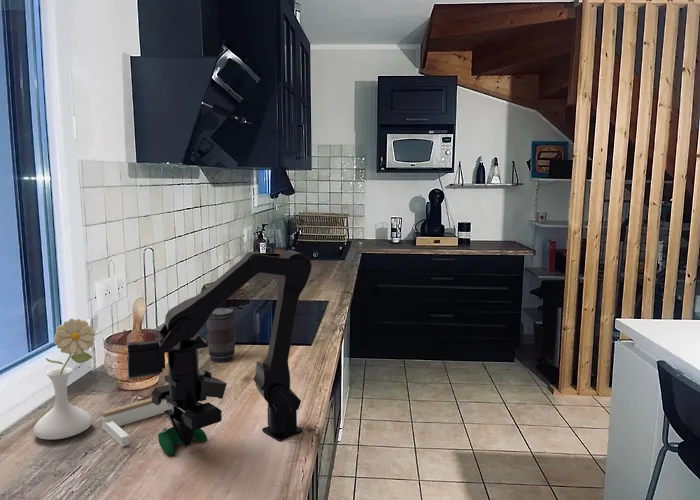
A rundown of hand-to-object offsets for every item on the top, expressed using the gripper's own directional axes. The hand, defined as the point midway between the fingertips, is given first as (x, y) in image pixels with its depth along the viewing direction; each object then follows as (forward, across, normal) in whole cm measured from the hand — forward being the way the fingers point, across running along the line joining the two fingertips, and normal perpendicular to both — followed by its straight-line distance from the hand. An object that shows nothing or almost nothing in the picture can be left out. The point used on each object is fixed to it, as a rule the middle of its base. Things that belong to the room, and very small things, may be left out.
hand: (186, 445), depth 109 cm
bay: (+1, +16, 0) cm, 16 cm away
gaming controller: (+2, +3, 0) cm, 4 cm away
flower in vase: (+1, +26, +15) cm, 30 cm away
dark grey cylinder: (+1, +45, -34) cm, 57 cm away
